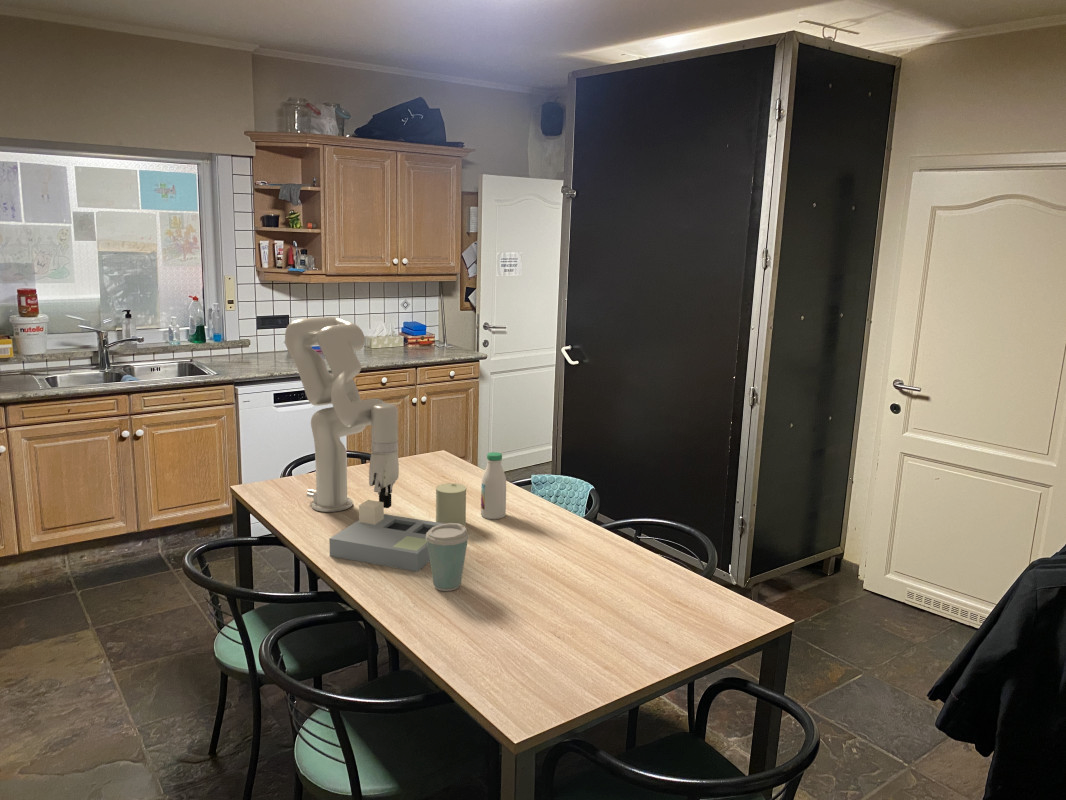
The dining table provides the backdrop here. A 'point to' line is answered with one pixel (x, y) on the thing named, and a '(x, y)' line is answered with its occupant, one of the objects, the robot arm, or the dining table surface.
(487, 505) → the milk bottle
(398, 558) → the box
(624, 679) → the dining table surface
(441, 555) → the disposable coffee cup
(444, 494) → the can
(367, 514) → the block
